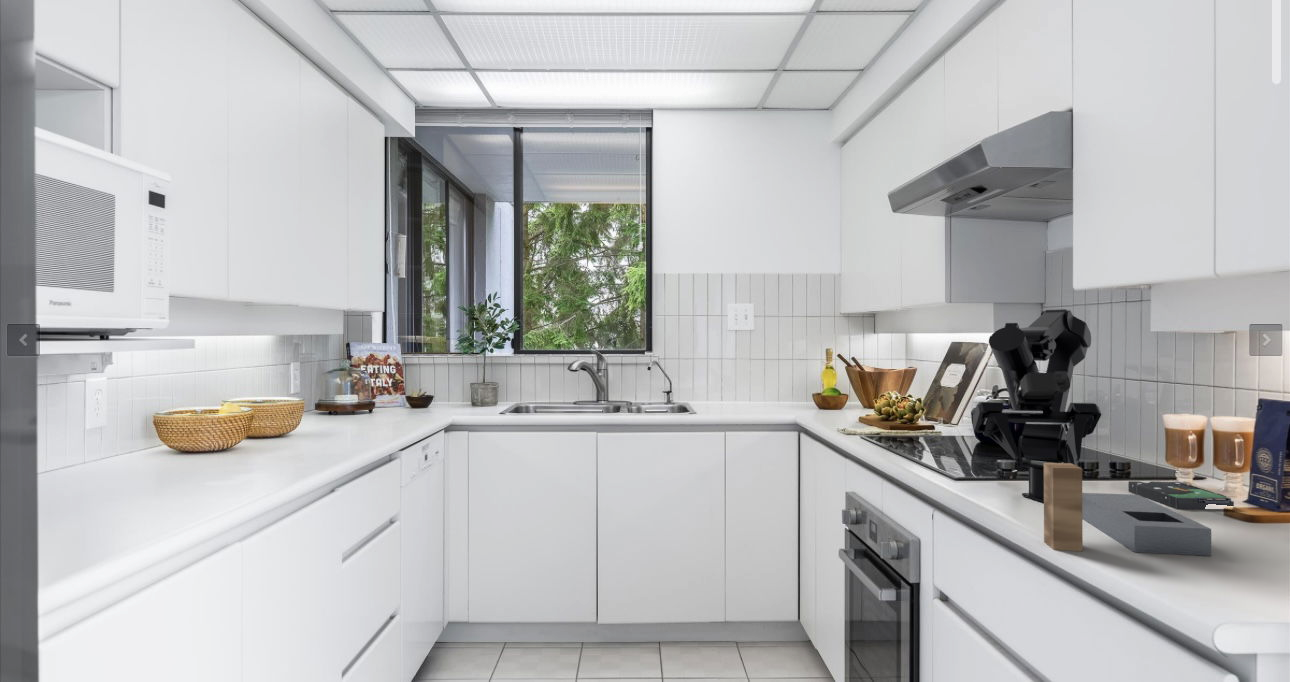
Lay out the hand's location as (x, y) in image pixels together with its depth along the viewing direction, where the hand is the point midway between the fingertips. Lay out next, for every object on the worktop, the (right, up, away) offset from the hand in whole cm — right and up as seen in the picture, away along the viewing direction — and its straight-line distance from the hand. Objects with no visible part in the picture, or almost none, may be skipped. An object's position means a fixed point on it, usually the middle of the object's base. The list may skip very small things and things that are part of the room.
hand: (1046, 458), depth 113 cm
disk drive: (+38, -13, +22) cm, 46 cm away
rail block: (+15, -12, 0) cm, 19 cm away
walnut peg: (-1, -12, -6) cm, 14 cm away
